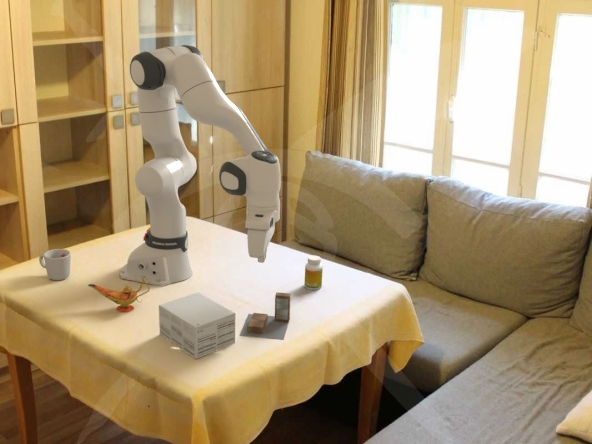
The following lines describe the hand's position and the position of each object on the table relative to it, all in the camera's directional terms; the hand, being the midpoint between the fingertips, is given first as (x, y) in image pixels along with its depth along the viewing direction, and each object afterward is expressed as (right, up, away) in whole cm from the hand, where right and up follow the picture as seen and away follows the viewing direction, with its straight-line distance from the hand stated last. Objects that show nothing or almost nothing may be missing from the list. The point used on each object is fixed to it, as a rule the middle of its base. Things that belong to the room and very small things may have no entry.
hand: (261, 260), depth 204 cm
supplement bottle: (+15, -10, +30) cm, 35 cm away
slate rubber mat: (+1, -19, +4) cm, 19 cm away
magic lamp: (-41, -14, +12) cm, 45 cm away
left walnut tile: (-1, -16, +7) cm, 17 cm away
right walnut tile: (+5, -17, +7) cm, 19 cm away
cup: (-66, -7, +31) cm, 73 cm away
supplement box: (-17, -21, -4) cm, 27 cm away
